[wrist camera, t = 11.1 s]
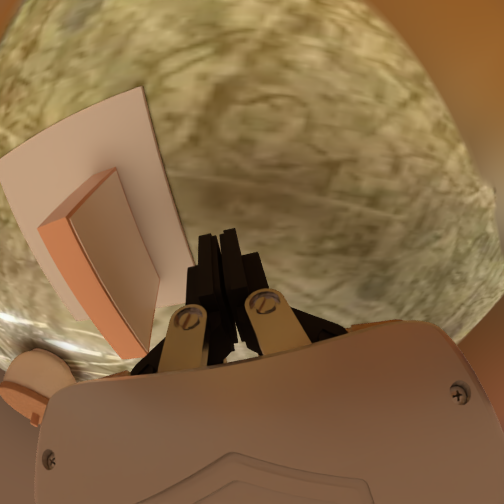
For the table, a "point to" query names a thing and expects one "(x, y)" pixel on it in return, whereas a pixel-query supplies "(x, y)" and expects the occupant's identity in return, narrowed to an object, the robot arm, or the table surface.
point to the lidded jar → (34, 382)
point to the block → (105, 262)
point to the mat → (92, 162)
